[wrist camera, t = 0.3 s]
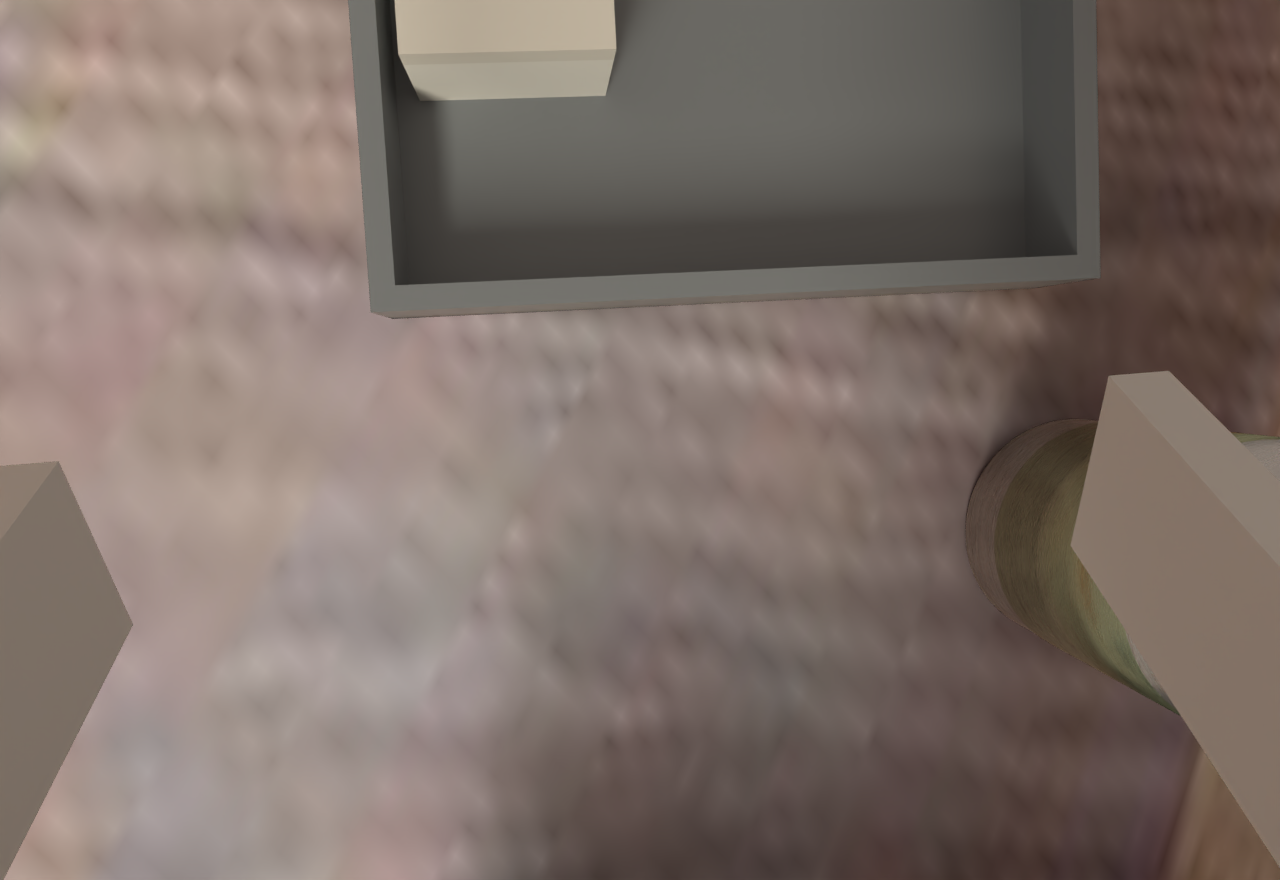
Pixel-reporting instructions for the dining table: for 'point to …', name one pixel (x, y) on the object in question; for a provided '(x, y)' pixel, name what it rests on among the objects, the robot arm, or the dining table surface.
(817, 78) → the tray
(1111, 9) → the dining table surface
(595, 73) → the cream rectangular block
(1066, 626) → the tin can
